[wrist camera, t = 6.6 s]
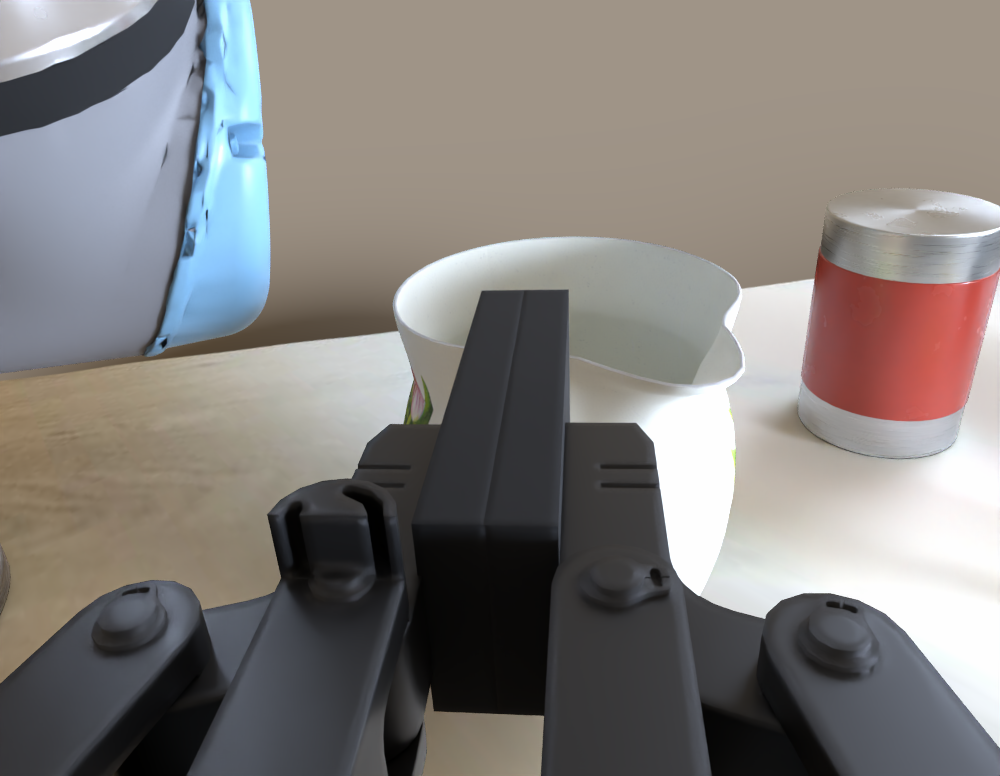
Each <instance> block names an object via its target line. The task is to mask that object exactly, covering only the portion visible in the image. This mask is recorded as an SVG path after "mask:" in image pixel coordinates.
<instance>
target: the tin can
mask: <svg viewBox="0 0 1000 776" xmlns="http://www.w3.org/2000/svg"><path fill="white" fill-rule="evenodd" d="M999 276H1000V206H998V205H996V204H993V203H991V202H988V201H985V200H982V199H978V198H974V197H970V196H966V195H961V194H956V193H950V192H943V191H934V190H924V189H903V188H887V189H870V190H862V191H856V192H851V193H846V194H843V195H840V196H837V197H835V198H833V199H832V200H830V202H829V203H828V204H827V207H826V213H825V220H824V226H823V233H822V241H821V246H820V248H819V253H818V259H817V266H816V273H815V280H814V287H813V294H812V301H811V308H810V315H809V322H808V329H807V336H806V343H805V350H804V357H803V364H802V371H801V376H802V380H801V387H800V394H799V401H798V415H799V418H800V420H801V421H802V423H803V424H804V425H805V427H806V428H807V429H808V430H810V431H811V432H812V433H813V434H815V435H816V436H818V437H819V438H821V439H823V440H824V441H826V442H828V443H830V444H833V445H835V446H837V447H840V448H843V449H845V450H849V451H852V452H855V453H859V454H864V455H869V456H875V457H882V458H895V459H907V458H919V457H925V456H930V455H933V454H937V453H939V452H941V451H944V450H945V449H947V448H948V447H950V446H951V445H952V444H953V443H954V442H955V440H956V438H957V435H958V431H959V427H960V423H961V419H962V415H963V411H964V407H965V404H966V403H967V401H968V398H969V394H970V390H971V386H972V382H973V378H974V374H975V370H976V366H977V362H978V358H979V354H980V350H981V346H982V342H983V339H984V335H985V331H986V327H987V323H988V319H989V315H990V311H991V307H992V303H993V299H994V295H995V291H996V287H997V284H998V280H999Z"/></svg>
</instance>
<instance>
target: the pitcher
mask: <svg viewBox="0 0 1000 776" xmlns="http://www.w3.org/2000/svg"><path fill="white" fill-rule="evenodd" d="M565 289H569V367H570V422H575V423H637V424H638V425H639V426H640V428H641V429H642V430H643V431H644V432H645V433H646V434H647V435H648V436H649V437H650V439H651V440H652V441H653V442H654V446H655V453H656V460H657V469H658V474H659V481H660V488H661V495H662V502H663V509H664V516H665V523H666V530H667V537H668V544H669V551H670V558H671V562H672V565H673V568H674V569H675V570H676V572H677V574H678V576H679V578H680V579H681V581H682V582H683V583H684V584H685V585H686V586H687V587H688V588H690V589H691V590H692V591H693V592H694V593H696V594H697V595H700V593H701V591H702V589H703V588H704V586H705V584H706V581H707V579H708V577H709V575H710V572H711V570H712V568H713V565H714V563H715V561H716V558H717V556H718V554H719V551H720V547H721V544H722V541H723V537H724V534H725V531H726V526H727V521H728V516H729V512H730V507H731V502H732V497H733V489H734V480H735V461H736V450H735V435H734V424H733V419H732V414H731V409H730V404H729V400H728V396H727V393H726V389H725V388H726V387H728V386H730V385H731V384H733V383H735V382H736V381H737V379H738V378H739V377H740V376H741V375H742V374H743V373H744V371H745V360H744V353H743V351H742V349H741V347H740V344H739V342H738V341H737V339H736V338H735V336H734V335H733V333H732V332H731V330H732V327H733V324H734V321H735V318H736V315H737V312H738V309H739V305H740V301H741V296H742V292H741V287H740V285H739V283H738V281H737V280H736V279H735V278H734V277H733V276H732V275H731V274H730V273H728V272H727V271H725V270H724V269H722V268H721V267H719V266H717V265H715V264H713V263H712V262H709V261H707V260H705V259H703V258H700V257H698V256H695V255H692V254H689V253H687V252H684V251H680V250H677V249H673V248H669V247H666V246H661V245H656V244H651V243H646V242H640V241H634V240H625V239H616V238H602V237H547V238H534V239H524V240H516V241H509V242H502V243H497V244H492V245H486V246H482V247H478V248H474V249H470V250H466V251H463V252H460V253H456V254H453V255H451V256H448V257H446V258H443V259H440V260H438V261H436V262H434V263H432V264H430V265H427V266H425V267H424V268H422V269H420V270H419V271H417V272H416V273H414V274H413V275H412V276H410V277H409V278H408V279H406V280H405V281H404V283H403V284H402V285H401V286H400V287H399V288H398V290H397V292H396V294H395V296H394V300H393V309H394V316H395V320H396V324H397V327H398V330H399V333H400V336H401V338H402V341H403V344H404V347H405V350H406V353H407V356H408V359H409V362H410V366H411V369H412V373H413V377H414V381H413V384H412V388H411V392H410V395H409V399H408V404H407V409H406V414H405V420H404V424H441V423H442V420H443V417H444V413H445V410H446V407H447V403H448V400H449V397H450V394H451V390H452V387H453V384H454V380H455V377H456V374H457V370H458V367H459V364H460V360H461V357H462V354H463V351H464V347H465V344H466V341H467V337H468V334H469V331H470V327H471V324H472V321H473V317H474V314H475V311H476V307H477V304H478V301H479V298H480V294H481V291H486V290H565Z"/></svg>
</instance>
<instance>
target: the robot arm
mask: <svg viewBox="0 0 1000 776" xmlns="http://www.w3.org/2000/svg"><path fill="white" fill-rule="evenodd" d="M262 138H263V126H262V115H261V87H260V76H259V66H258V56H257V47H256V39H255V31H254V23H253V16H252V10H251V5H250V0H0V373H8V372H16V371H23V370H31V369H38V368H46V367H54V366H62V365H70V364H77V363H85V362H92V361H101V360H108V359H115V358H124V357H131V356H139V355H143V356H145V357H147V356H155V355H157V354H160V353H162V352H163V351H164V350H165V349H166V348H170V347H175V346H180V345H184V344H189V343H194V342H199V341H203V340H209V339H213V338H218V337H223V336H227V335H231V334H234V333H237V332H239V331H241V330H243V329H244V328H246V327H247V326H249V325H250V324H251V323H252V322H253V321H255V319H256V318H257V317H258V316H259V314H260V313H261V311H262V309H263V308H264V305H265V303H266V300H267V296H268V291H269V282H270V224H269V202H268V186H267V172H266V160H265V153H264V148H263V146H262ZM267 516H268V520H269V525H270V529H271V534H272V538H273V543H274V547H275V552H276V556H277V561H278V565H279V570H280V574H281V580H280V582H279V584H278V586H277V588H276V590H275V592H273V593H271V594H269V595H266V596H263V597H259V598H256V599H252V600H249V601H244V602H240V603H235V604H230V605H225V606H220V607H216V608H211V609H206V610H202V608H201V605H200V602H199V600H198V598H197V597H196V595H195V594H194V592H193V591H192V589H190V588H188V587H186V586H184V585H182V584H179V583H177V582H175V581H159V580H150V581H145V582H140V583H135V584H130V585H126V586H123V587H121V588H119V589H117V590H114V591H112V592H110V593H107V594H105V595H103V596H101V597H99V598H98V599H96V600H95V601H94V602H92V603H91V604H89V605H88V606H87V607H85V608H84V609H82V610H81V611H79V612H78V613H77V614H76V615H75V616H74V617H73V618H72V619H71V620H70V621H68V622H67V623H66V624H65V625H64V626H63V627H62V628H61V629H60V630H59V631H57V632H56V633H55V634H54V635H53V636H52V637H51V638H50V639H49V640H48V641H47V642H45V643H44V644H43V645H42V646H41V647H40V648H39V649H38V650H37V651H36V652H34V653H33V654H32V655H31V656H30V657H29V658H28V659H27V660H26V661H25V662H23V663H22V664H21V665H20V666H19V667H18V668H17V669H16V670H15V671H14V672H12V673H11V674H10V675H9V676H8V677H7V678H6V679H5V680H4V681H3V682H2V683H0V776H422V774H423V769H424V764H425V759H426V754H427V746H426V730H425V722H424V712H425V708H426V703H427V698H428V693H429V688H430V684H431V691H432V700H433V708H434V711H441V712H466V713H490V714H515V715H540V716H544V730H543V748H542V766H541V776H1000V748H999V747H998V746H997V744H996V743H995V742H994V741H993V739H992V738H991V737H990V736H989V735H988V733H987V732H986V731H985V730H984V728H983V727H982V726H981V725H980V723H979V722H978V721H977V720H976V719H975V717H974V716H973V715H972V714H971V712H970V711H969V710H968V709H967V707H966V706H965V705H964V704H963V702H962V701H961V700H960V699H959V698H958V696H957V695H956V694H955V693H954V691H953V690H952V689H951V688H950V686H949V685H948V684H947V683H946V682H945V680H944V679H943V678H942V677H941V675H940V674H939V673H938V672H937V670H936V669H935V668H934V667H933V665H932V664H931V663H930V662H929V661H928V659H927V658H926V657H925V656H924V654H923V653H922V652H921V651H920V649H919V648H918V647H917V646H916V645H915V643H914V642H913V641H912V640H911V638H910V637H909V636H908V635H907V633H906V632H905V631H904V630H903V629H901V628H900V627H899V626H898V625H897V624H896V623H895V622H894V621H893V620H891V619H890V618H889V617H888V616H887V615H886V614H885V613H883V612H881V611H879V610H877V609H875V608H873V607H871V606H869V605H867V604H865V603H863V602H861V601H859V600H855V599H851V598H847V597H843V596H839V595H835V594H831V593H803V594H800V595H797V596H794V597H791V598H788V599H785V600H781V601H780V602H779V603H778V604H777V605H776V606H775V607H774V608H773V609H771V610H770V611H769V612H768V613H767V615H766V619H763V618H759V617H755V616H751V615H747V614H744V613H740V612H736V611H733V610H730V609H727V608H724V607H721V606H718V605H715V604H713V603H711V602H709V601H708V600H706V599H704V598H702V597H700V596H699V595H697V594H696V593H694V592H693V591H692V590H691V589H690V588H688V587H687V586H686V585H685V584H684V583H683V582H682V581H681V579H680V578H679V576H678V574H677V572H676V570H675V569H674V568H673V565H672V562H671V558H670V551H669V544H668V537H667V530H666V523H665V516H664V509H663V502H662V495H661V488H660V481H659V474H658V469H657V460H656V453H655V446H654V442H653V441H652V440H651V439H650V437H649V436H648V435H647V434H646V433H645V432H644V431H643V430H642V429H641V428H640V426H639V425H638V424H637V423H575V422H570V367H569V289H565V290H486V291H481V294H480V298H479V301H478V304H477V307H476V311H475V314H474V317H473V321H472V324H471V327H470V331H469V334H468V337H467V341H466V344H465V347H464V351H463V354H462V357H461V360H460V364H459V367H458V370H457V374H456V377H455V380H454V384H453V387H452V390H451V394H450V397H449V400H448V403H447V407H446V410H445V413H444V417H443V420H442V423H441V424H390V425H388V426H387V427H386V428H385V429H384V430H382V431H381V432H380V433H379V434H378V435H376V436H375V437H374V438H373V439H372V440H371V441H369V442H368V443H367V445H366V448H365V450H364V452H363V454H362V457H361V459H360V461H359V463H358V469H356V470H355V473H354V475H353V477H352V479H348V478H347V479H337V480H327V481H321V482H318V483H315V484H312V485H309V486H306V487H302V488H300V489H298V490H296V491H295V492H293V493H291V494H290V495H288V496H286V497H284V498H283V499H281V500H280V501H279V502H278V503H277V504H276V505H275V507H274V508H273V509H272V510H271V511H270V512H269V513H268V514H267ZM9 588H10V568H9V564H8V561H7V558H6V556H5V553H4V551H3V549H2V546H1V544H0V614H1V612H2V610H3V607H4V605H5V602H6V600H7V596H8V592H9Z"/></svg>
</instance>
